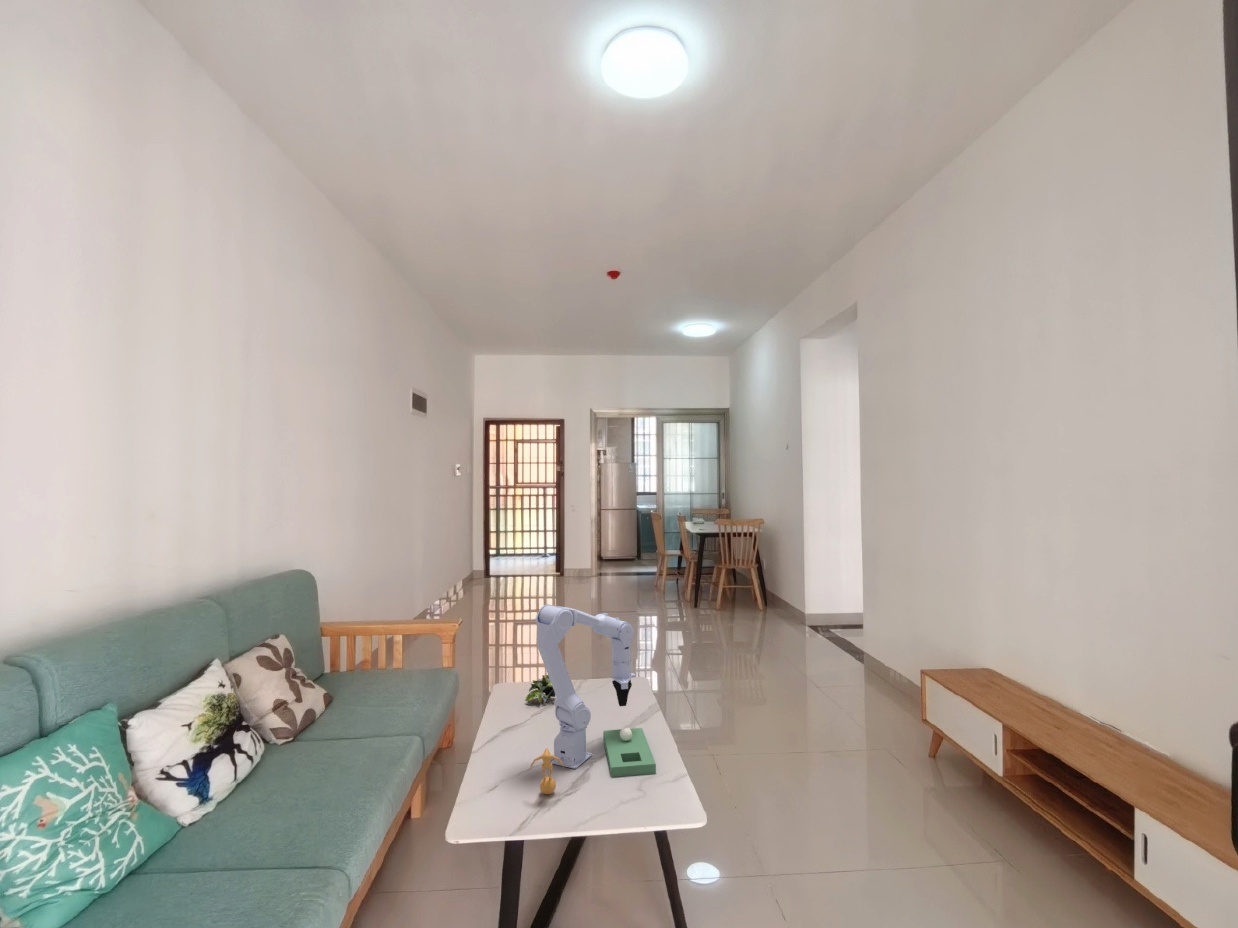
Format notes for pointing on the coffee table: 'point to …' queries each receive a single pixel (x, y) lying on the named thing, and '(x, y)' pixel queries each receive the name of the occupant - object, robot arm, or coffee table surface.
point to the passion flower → (541, 689)
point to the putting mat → (628, 753)
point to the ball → (625, 734)
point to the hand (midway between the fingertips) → (622, 705)
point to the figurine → (547, 782)
